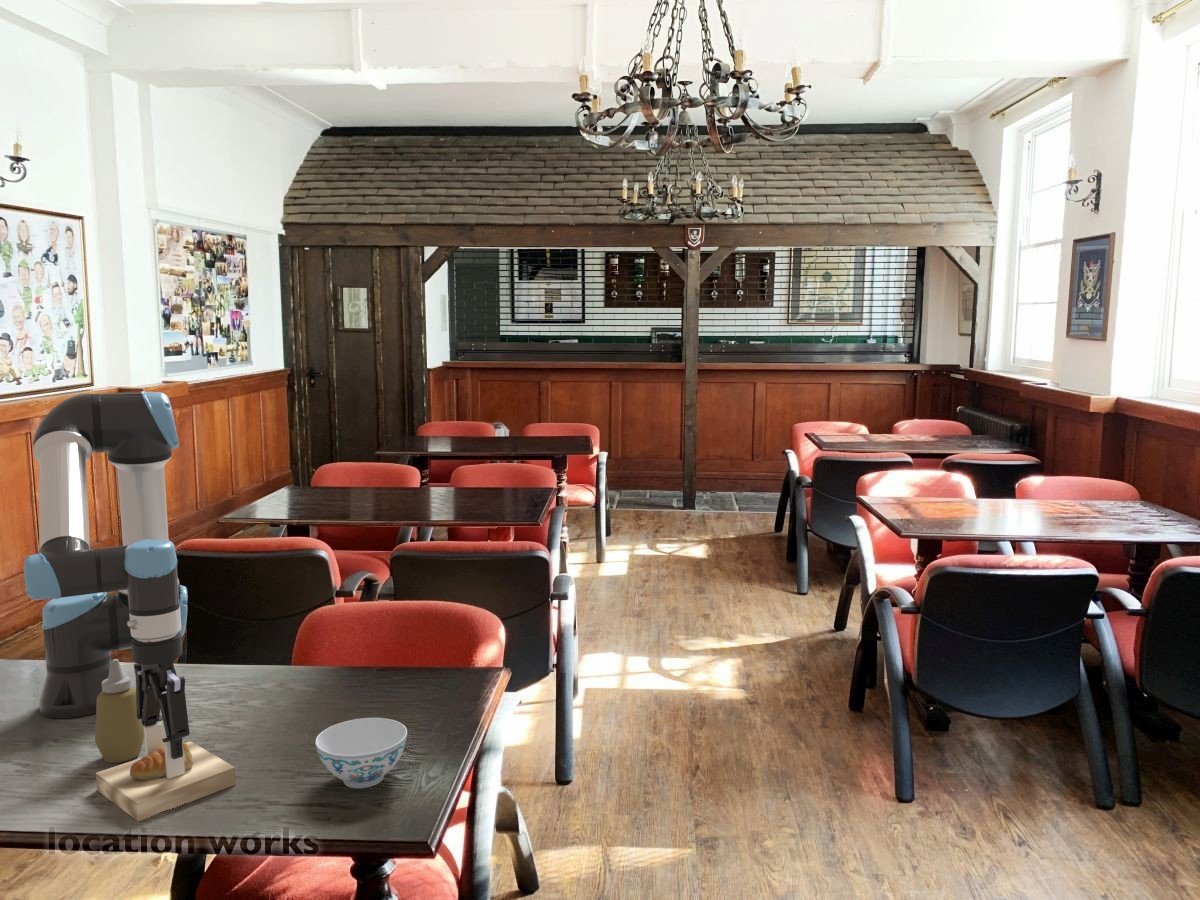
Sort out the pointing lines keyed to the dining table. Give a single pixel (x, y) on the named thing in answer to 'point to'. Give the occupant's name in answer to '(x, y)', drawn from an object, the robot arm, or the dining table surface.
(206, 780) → the serving board
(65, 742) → the dining table surface
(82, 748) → the dining table surface
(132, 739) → the squeeze bottle
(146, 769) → the pastry
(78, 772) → the dining table surface
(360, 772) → the chinaware
